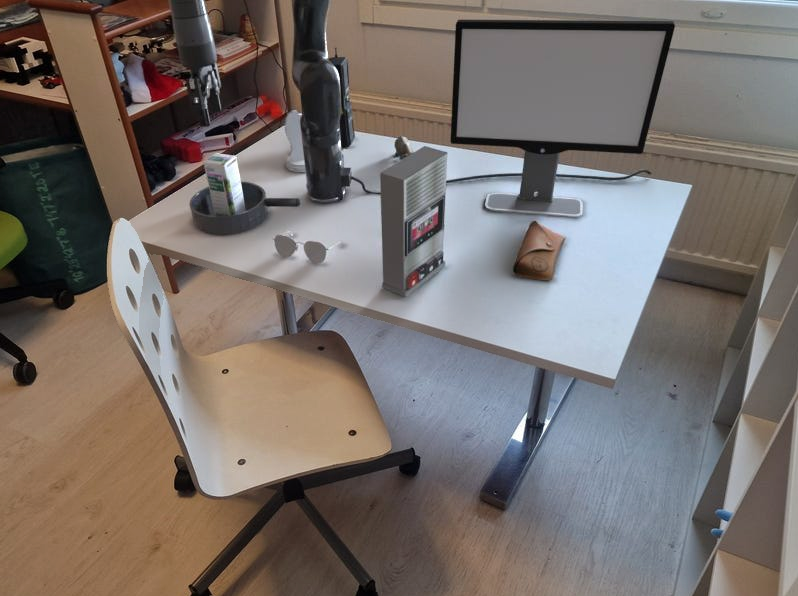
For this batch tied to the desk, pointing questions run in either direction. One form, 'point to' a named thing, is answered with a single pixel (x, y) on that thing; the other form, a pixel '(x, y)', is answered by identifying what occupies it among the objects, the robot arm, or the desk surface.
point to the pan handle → (282, 202)
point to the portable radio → (344, 101)
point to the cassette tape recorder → (413, 219)
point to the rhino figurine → (403, 147)
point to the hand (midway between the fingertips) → (211, 118)
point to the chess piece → (294, 142)
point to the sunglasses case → (538, 253)
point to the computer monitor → (555, 95)
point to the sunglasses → (311, 248)
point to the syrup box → (224, 184)
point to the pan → (231, 223)
